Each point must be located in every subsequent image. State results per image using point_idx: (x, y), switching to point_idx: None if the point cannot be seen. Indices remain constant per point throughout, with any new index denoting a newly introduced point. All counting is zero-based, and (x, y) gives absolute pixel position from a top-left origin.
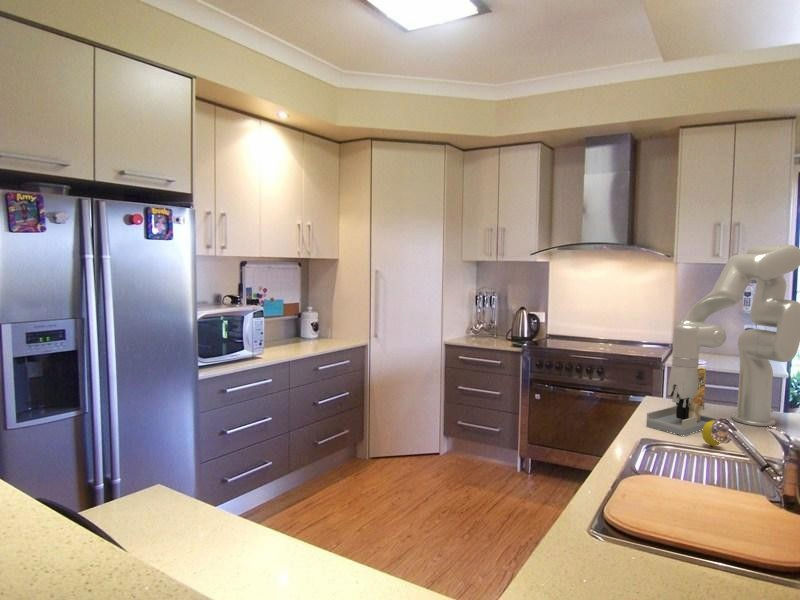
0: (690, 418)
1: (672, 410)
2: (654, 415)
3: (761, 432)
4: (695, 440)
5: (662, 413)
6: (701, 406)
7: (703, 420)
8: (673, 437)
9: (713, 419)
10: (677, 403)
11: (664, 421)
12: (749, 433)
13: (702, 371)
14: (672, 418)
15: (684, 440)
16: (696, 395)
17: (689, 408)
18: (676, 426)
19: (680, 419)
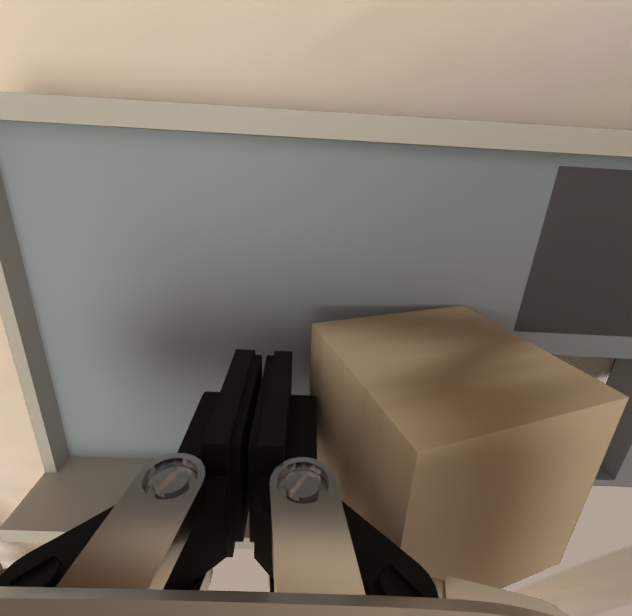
0: None
1: (544, 152)
2: (85, 125)
3: (604, 610)
4: None
5: (288, 137)
6: (529, 571)
7: (630, 365)
8: (6, 403)
9: (621, 455)
10: (82, 544)
11: (142, 251)
12: (532, 590)
13: None
14: (336, 243)
15: (28, 467)
16: None
17: (351, 507)
18: (39, 431)
19: (368, 310)
